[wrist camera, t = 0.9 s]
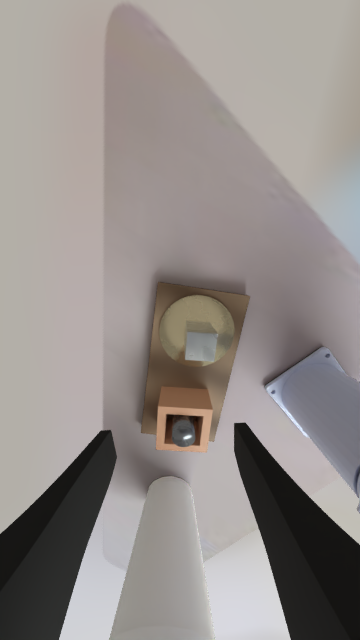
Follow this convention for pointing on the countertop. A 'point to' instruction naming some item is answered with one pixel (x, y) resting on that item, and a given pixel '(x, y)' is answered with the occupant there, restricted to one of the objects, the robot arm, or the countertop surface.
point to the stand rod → (183, 430)
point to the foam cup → (165, 571)
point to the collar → (184, 404)
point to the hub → (196, 330)
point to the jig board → (183, 376)
